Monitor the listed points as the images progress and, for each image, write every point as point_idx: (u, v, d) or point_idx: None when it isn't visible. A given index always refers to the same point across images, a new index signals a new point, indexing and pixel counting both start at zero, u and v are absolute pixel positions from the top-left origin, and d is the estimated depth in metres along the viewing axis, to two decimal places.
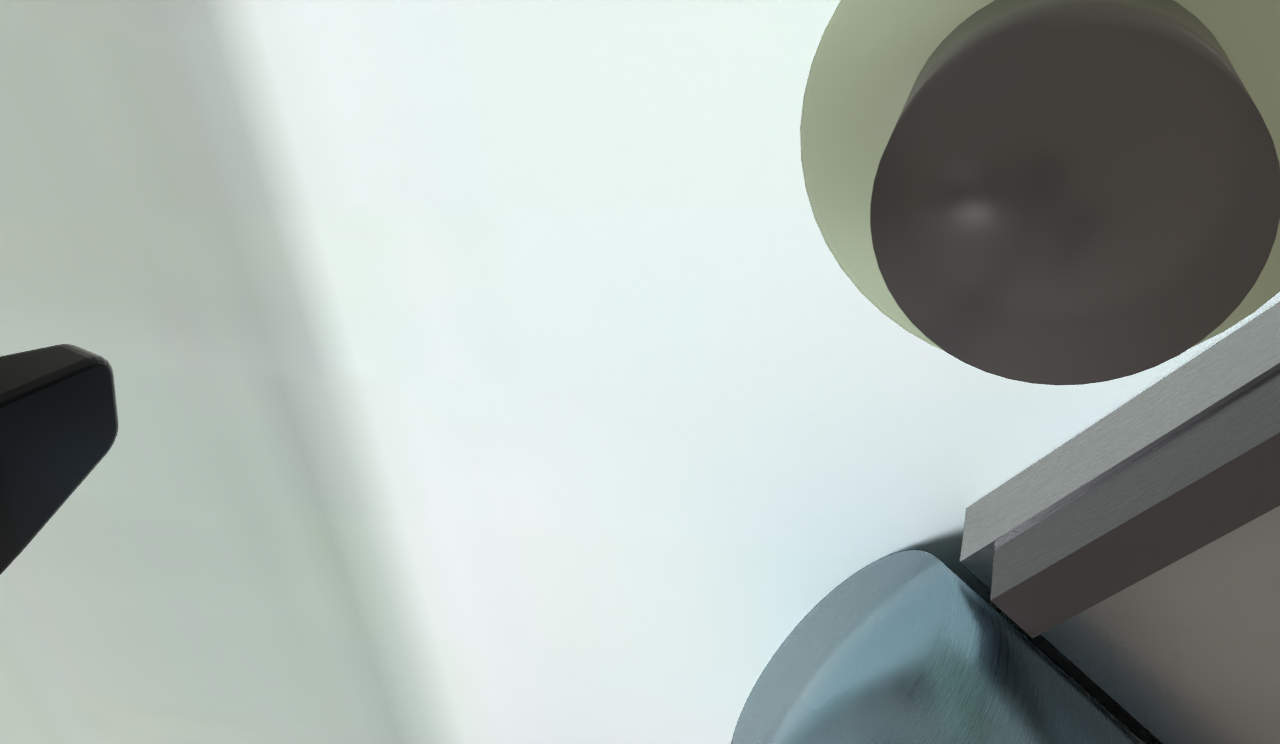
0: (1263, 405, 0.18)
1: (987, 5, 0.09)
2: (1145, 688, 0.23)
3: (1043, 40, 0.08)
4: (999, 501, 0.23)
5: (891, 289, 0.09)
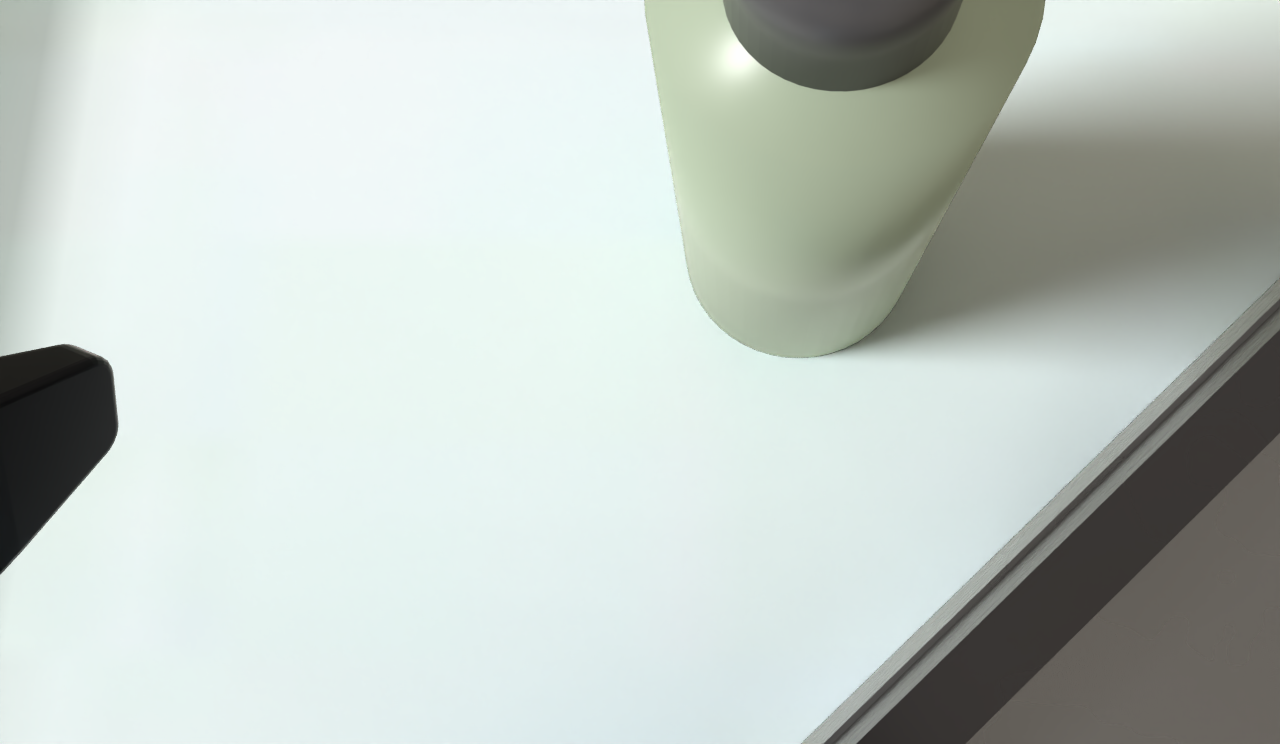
0: (1012, 576, 0.19)
1: None
2: None
3: None
4: None
5: None
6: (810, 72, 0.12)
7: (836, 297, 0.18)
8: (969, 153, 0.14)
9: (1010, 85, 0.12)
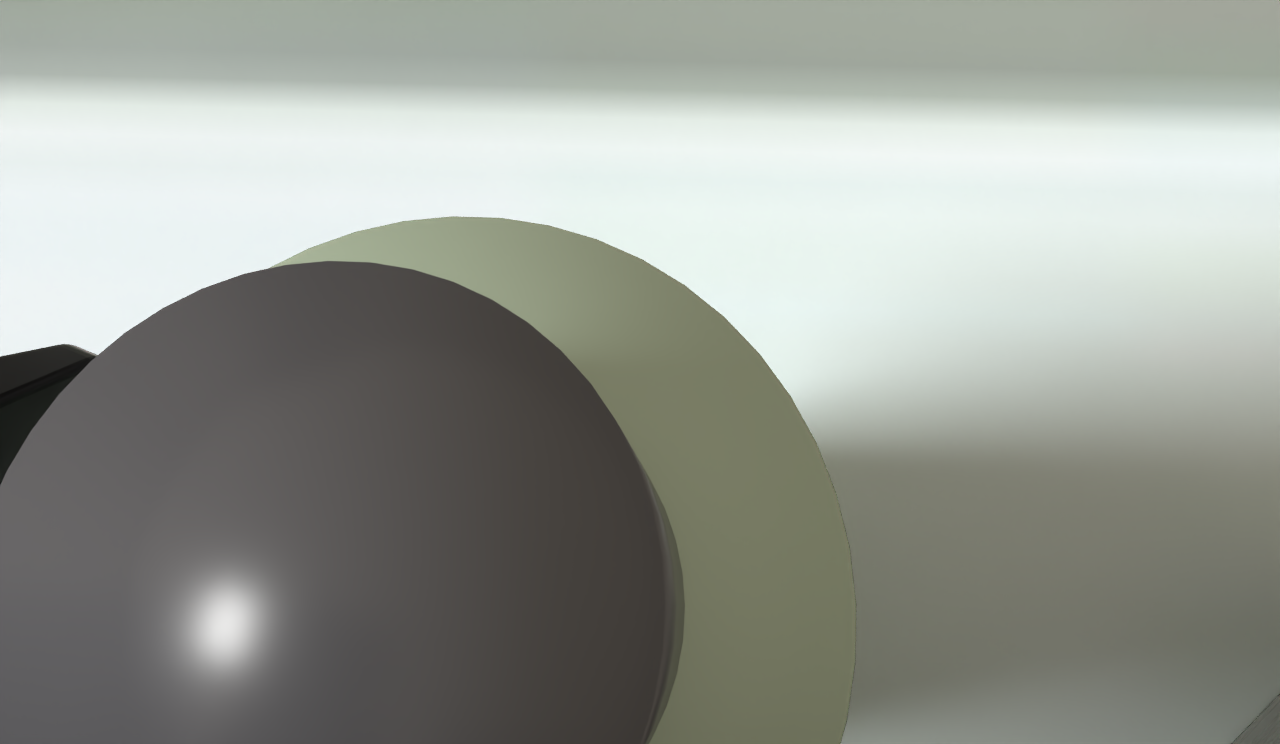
0: None
1: None
2: None
3: (290, 282, 0.05)
4: None
5: None
6: None
7: None
8: None
9: None
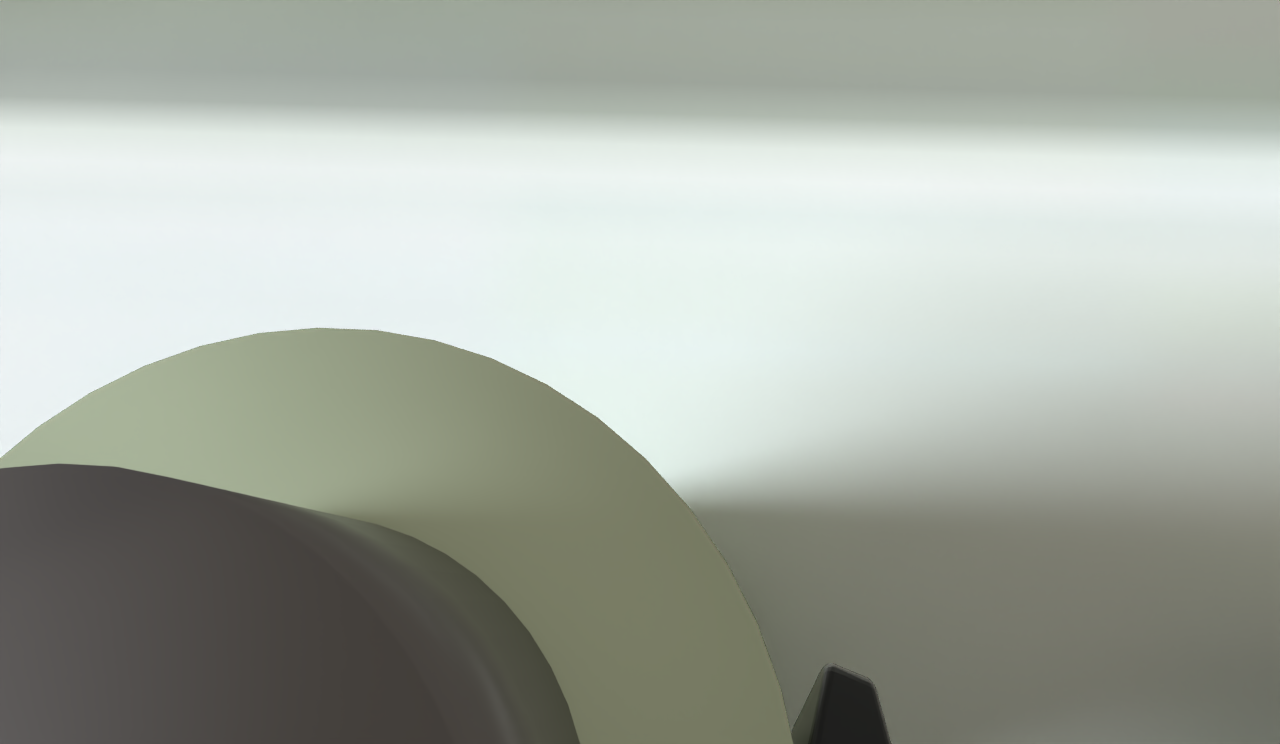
0: None
1: None
2: None
3: (7, 494, 0.03)
4: None
5: None
6: None
7: None
8: None
9: None
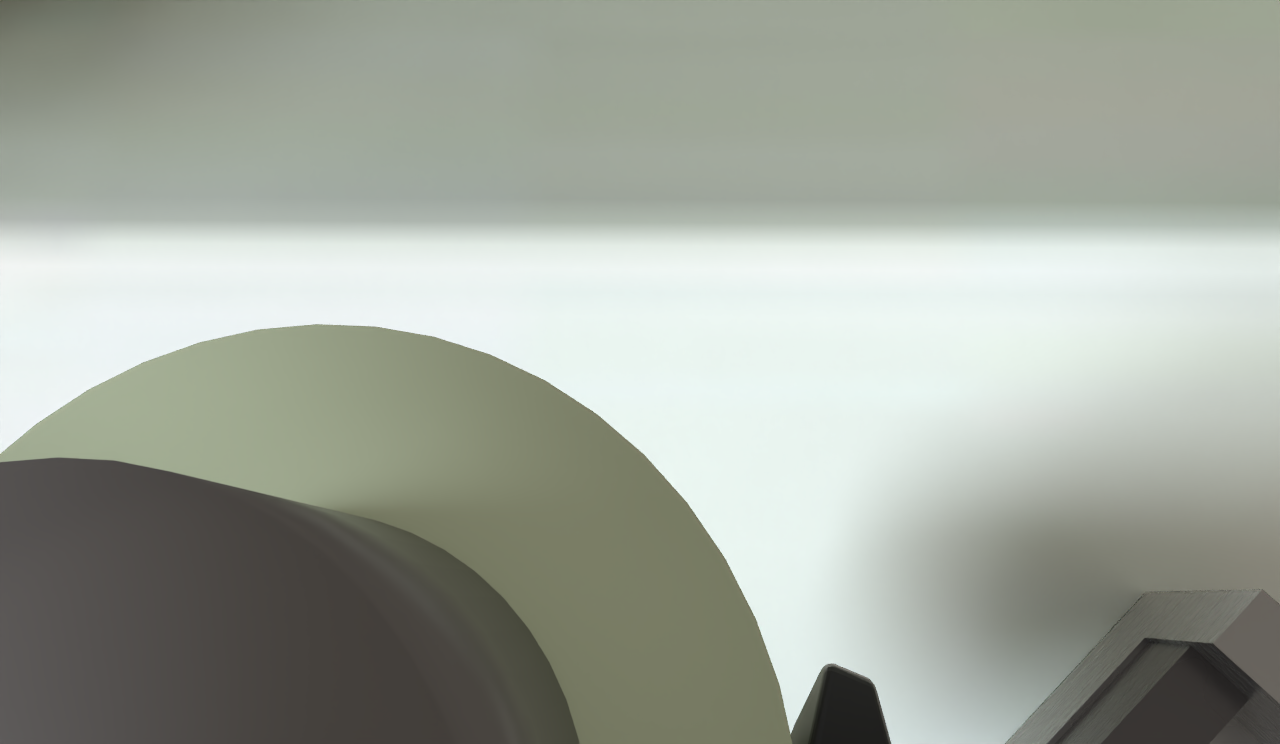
0: None
1: None
2: None
3: (9, 487, 0.03)
4: None
5: None
6: None
7: None
8: None
9: None
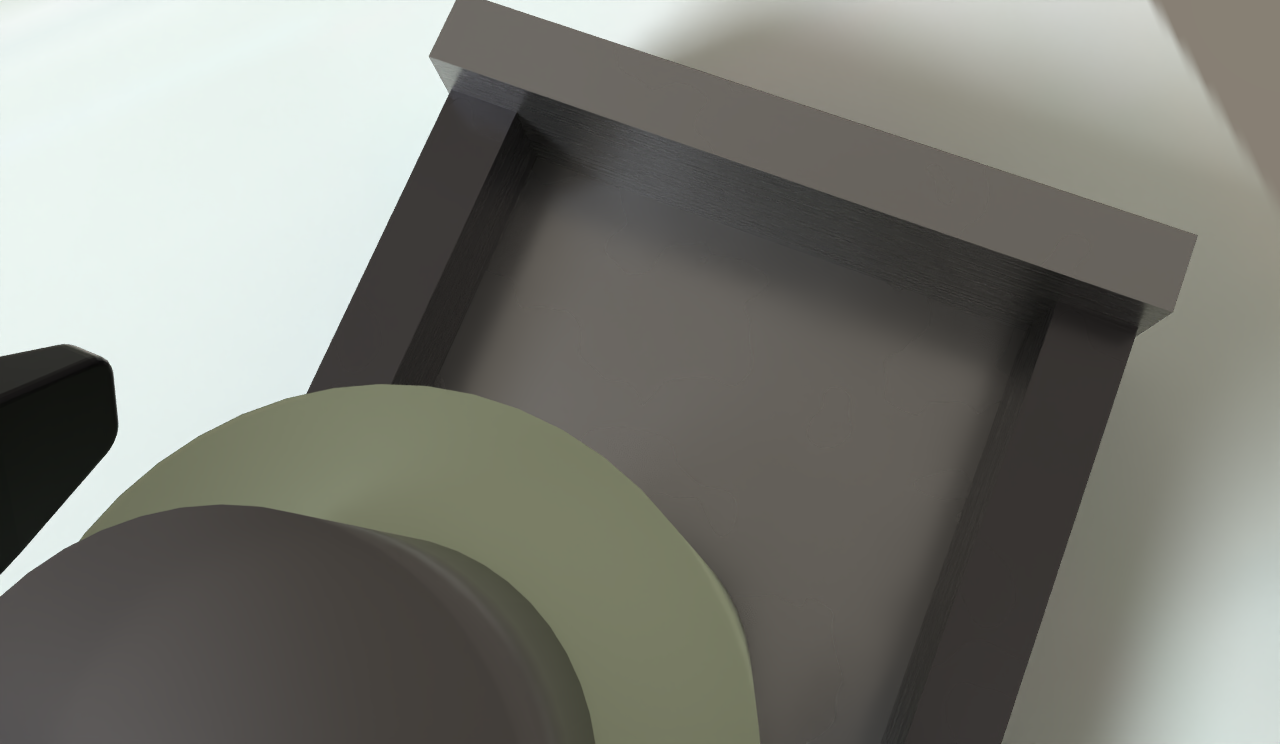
0: None
1: None
2: None
3: (186, 524, 0.05)
4: None
5: None
6: None
7: None
8: None
9: None
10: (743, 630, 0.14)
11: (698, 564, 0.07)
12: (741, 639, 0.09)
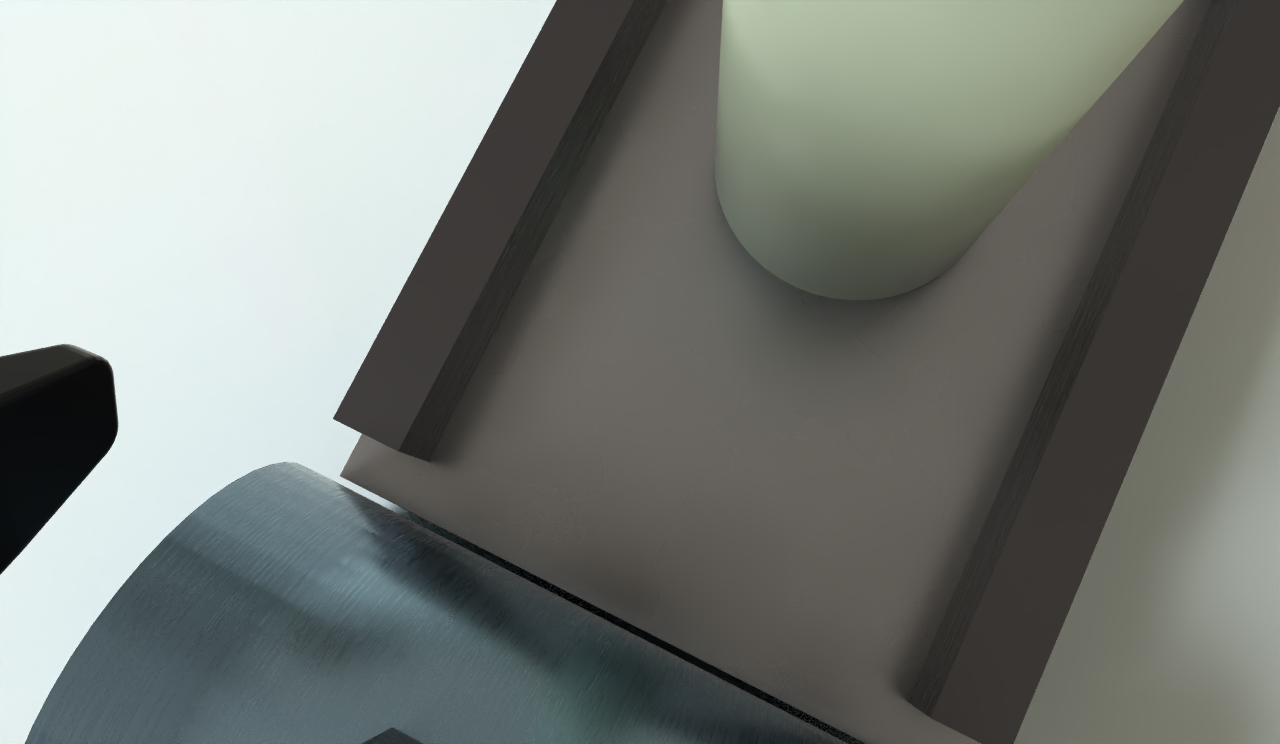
0: None
1: None
2: (608, 561, 0.18)
3: None
4: None
5: None
6: None
7: (933, 208, 0.13)
8: None
9: None
10: None
11: None
12: None
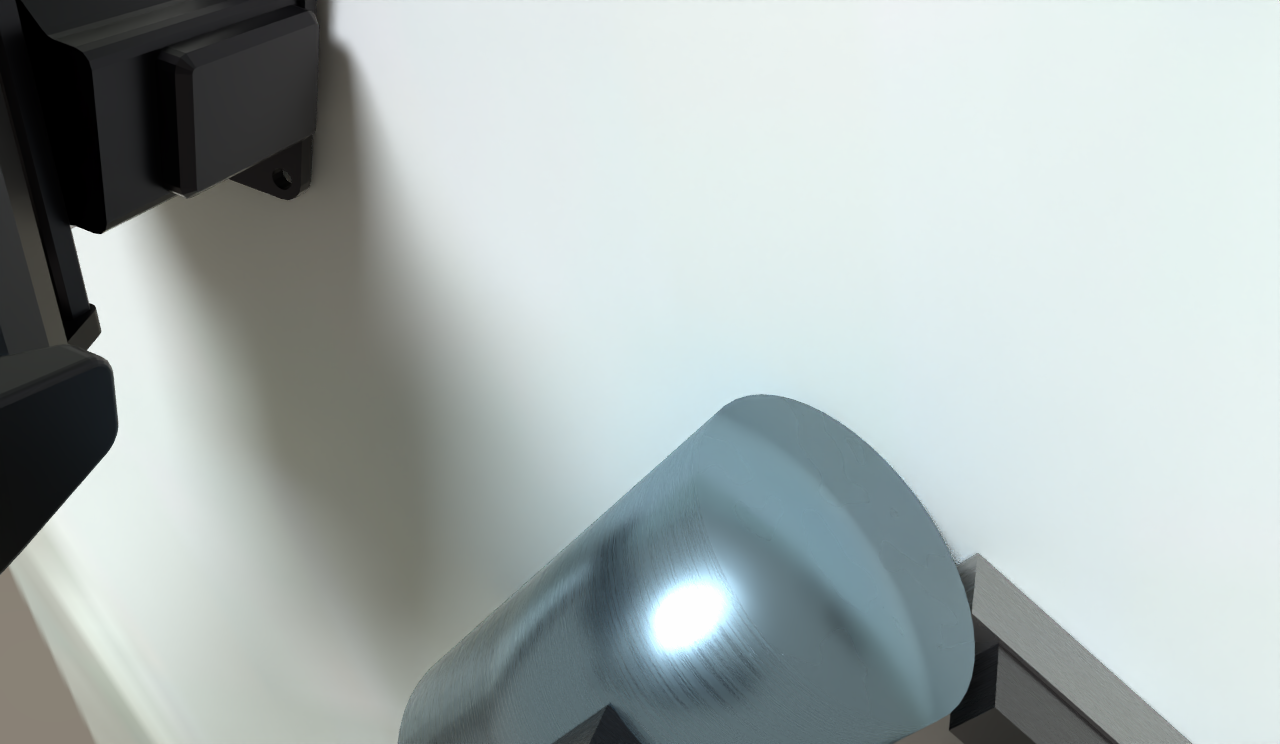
0: None
1: None
2: None
3: None
4: (1010, 600, 0.23)
5: None
6: None
7: None
8: None
9: None
10: None
11: None
12: None
